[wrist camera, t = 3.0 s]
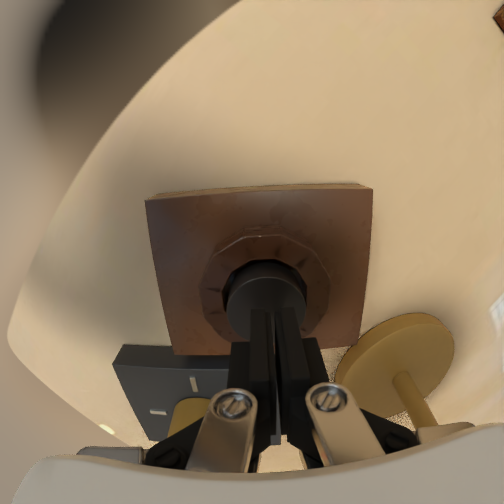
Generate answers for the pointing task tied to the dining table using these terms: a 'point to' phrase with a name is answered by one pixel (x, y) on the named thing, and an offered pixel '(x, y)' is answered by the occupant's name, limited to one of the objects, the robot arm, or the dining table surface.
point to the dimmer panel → (170, 384)
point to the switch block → (260, 257)
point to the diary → (500, 17)
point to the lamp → (398, 367)
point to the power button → (263, 295)
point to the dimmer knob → (187, 413)
